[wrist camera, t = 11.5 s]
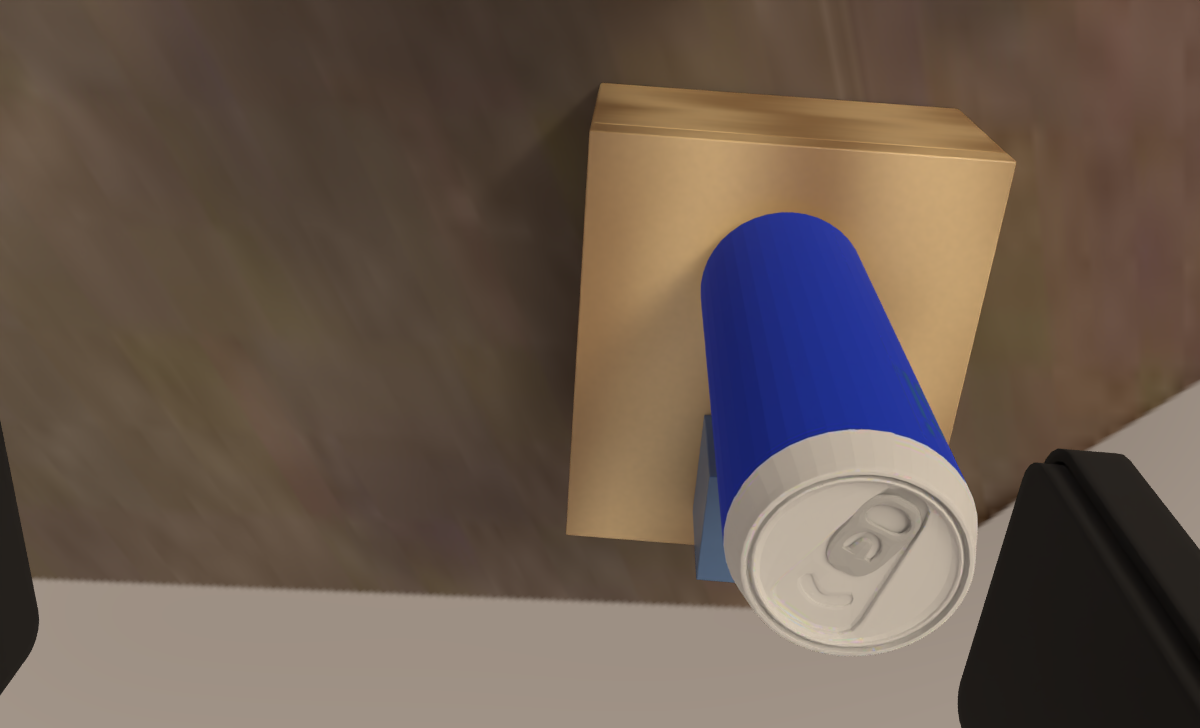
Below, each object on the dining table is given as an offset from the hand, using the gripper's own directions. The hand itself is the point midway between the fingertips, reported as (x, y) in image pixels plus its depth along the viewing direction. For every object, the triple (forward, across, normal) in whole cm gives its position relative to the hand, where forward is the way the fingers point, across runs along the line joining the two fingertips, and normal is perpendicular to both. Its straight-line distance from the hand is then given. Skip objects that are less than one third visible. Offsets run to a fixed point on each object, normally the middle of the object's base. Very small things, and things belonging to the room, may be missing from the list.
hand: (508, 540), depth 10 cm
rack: (+31, -7, +10) cm, 33 cm away
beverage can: (+24, -7, +7) cm, 26 cm away
